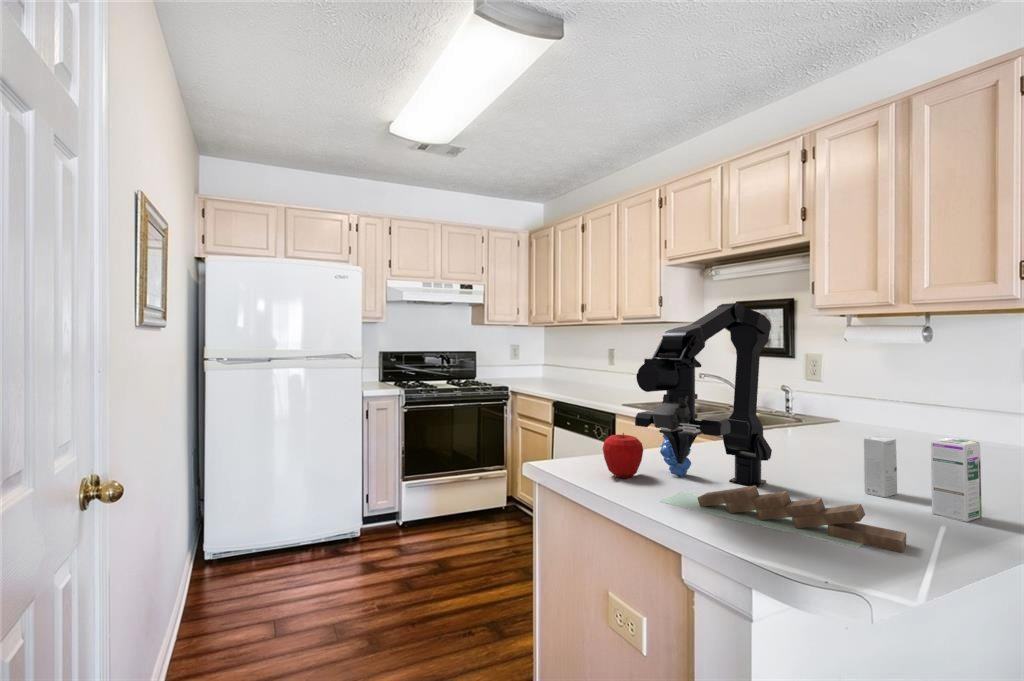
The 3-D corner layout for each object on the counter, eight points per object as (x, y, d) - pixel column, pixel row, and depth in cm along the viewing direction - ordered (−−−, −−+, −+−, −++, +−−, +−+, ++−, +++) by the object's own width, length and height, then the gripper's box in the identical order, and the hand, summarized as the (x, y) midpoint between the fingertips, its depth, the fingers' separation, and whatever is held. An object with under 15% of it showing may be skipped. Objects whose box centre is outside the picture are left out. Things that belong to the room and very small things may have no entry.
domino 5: (827, 524, 86) (902, 540, 80) (834, 518, 90) (906, 532, 83) (827, 535, 86) (902, 552, 80) (834, 528, 90) (906, 544, 83)
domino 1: (697, 497, 102) (747, 490, 95) (707, 492, 105) (756, 485, 99) (700, 506, 101) (750, 500, 95) (710, 501, 105) (759, 495, 98)
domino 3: (755, 510, 94) (814, 503, 88) (764, 504, 98) (821, 497, 91) (759, 520, 94) (818, 514, 87) (767, 514, 97) (825, 508, 91)
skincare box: (886, 498, 110) (886, 441, 110) (862, 493, 114) (862, 438, 114) (898, 493, 114) (898, 438, 114) (875, 489, 117) (875, 435, 117)
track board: (681, 494, 112) (681, 491, 112) (870, 535, 88) (870, 531, 88) (659, 504, 105) (659, 501, 105) (858, 552, 81) (858, 548, 81)
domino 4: (791, 517, 90) (855, 510, 84) (799, 511, 94) (861, 503, 87) (795, 528, 90) (859, 521, 83) (803, 521, 93) (865, 514, 87)
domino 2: (725, 503, 98) (779, 496, 92) (735, 498, 101) (787, 491, 95) (728, 513, 98) (783, 506, 91) (738, 507, 101) (791, 501, 95)
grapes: (648, 470, 133) (649, 423, 133) (672, 469, 135) (673, 423, 135) (671, 482, 122) (671, 431, 122) (697, 480, 123) (697, 430, 123)
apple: (595, 473, 129) (595, 430, 129) (626, 470, 133) (627, 428, 133) (618, 483, 120) (618, 437, 120) (651, 479, 124) (651, 434, 124)
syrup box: (967, 522, 95) (967, 444, 95) (930, 513, 100) (930, 438, 100) (982, 518, 98) (982, 441, 98) (944, 509, 103) (944, 436, 103)
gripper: (621, 389, 109) (621, 463, 109) (708, 395, 96) (708, 479, 96) (647, 385, 117) (647, 454, 117) (731, 391, 104) (731, 468, 104)
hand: (680, 463), depth 108 cm, fingers closed
